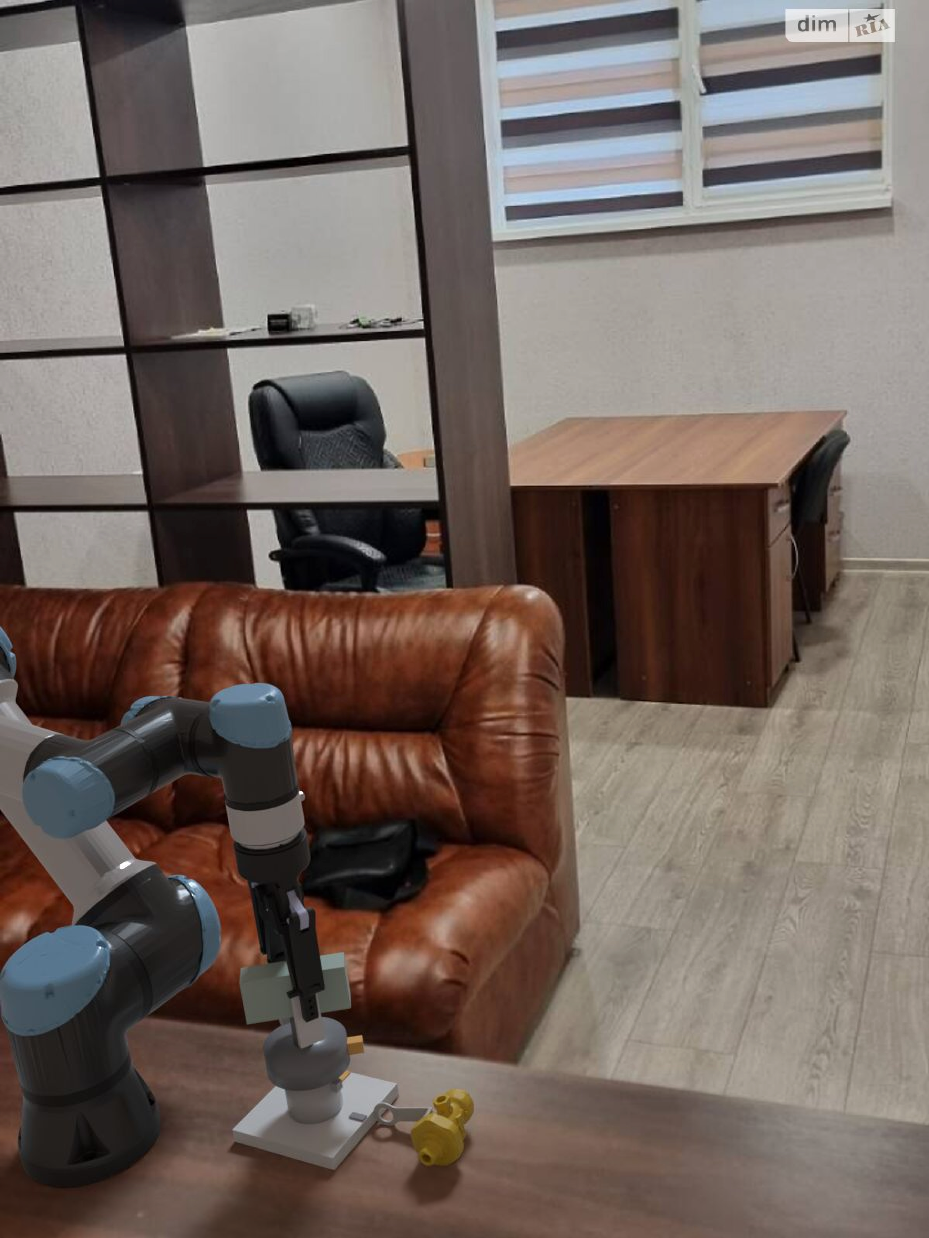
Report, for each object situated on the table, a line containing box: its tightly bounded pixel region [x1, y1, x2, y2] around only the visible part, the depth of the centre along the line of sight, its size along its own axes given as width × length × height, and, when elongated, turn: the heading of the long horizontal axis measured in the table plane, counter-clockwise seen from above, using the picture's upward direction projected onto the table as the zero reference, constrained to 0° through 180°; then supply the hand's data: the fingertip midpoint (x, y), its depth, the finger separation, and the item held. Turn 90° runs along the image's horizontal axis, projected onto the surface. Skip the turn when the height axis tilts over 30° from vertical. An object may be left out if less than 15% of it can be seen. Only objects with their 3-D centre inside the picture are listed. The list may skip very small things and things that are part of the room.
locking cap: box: [239, 951, 365, 1091], centre depth 145 cm, size 12×9×12 cm
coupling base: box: [232, 1069, 400, 1171], centre depth 148 cm, size 13×13×6 cm
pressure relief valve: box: [373, 1088, 475, 1167], centre depth 142 cm, size 6×12×10 cm
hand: (301, 1030), depth 146 cm, fingers closed on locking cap, 5 cm apart
